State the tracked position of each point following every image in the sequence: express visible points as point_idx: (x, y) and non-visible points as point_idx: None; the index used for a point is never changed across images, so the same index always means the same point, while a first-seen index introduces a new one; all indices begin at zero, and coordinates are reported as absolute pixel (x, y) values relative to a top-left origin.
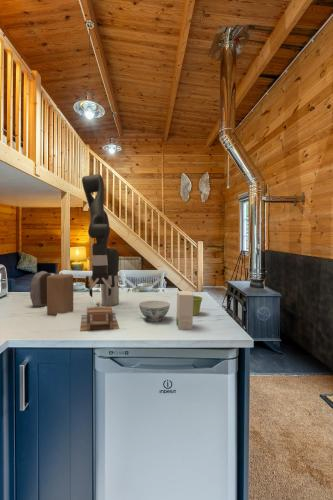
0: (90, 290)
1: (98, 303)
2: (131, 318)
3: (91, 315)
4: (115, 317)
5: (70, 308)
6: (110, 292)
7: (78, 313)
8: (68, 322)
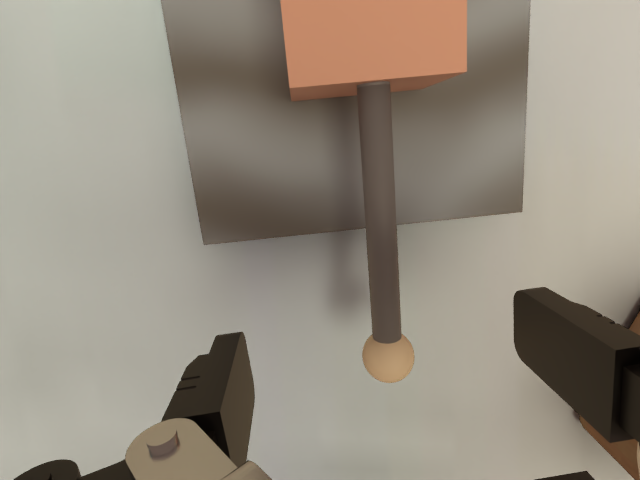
0: (637, 349)
1: (386, 330)
2: (29, 131)
3: (430, 179)
4: (177, 62)
5: None
6: (194, 380)
7: None
8: (622, 67)
